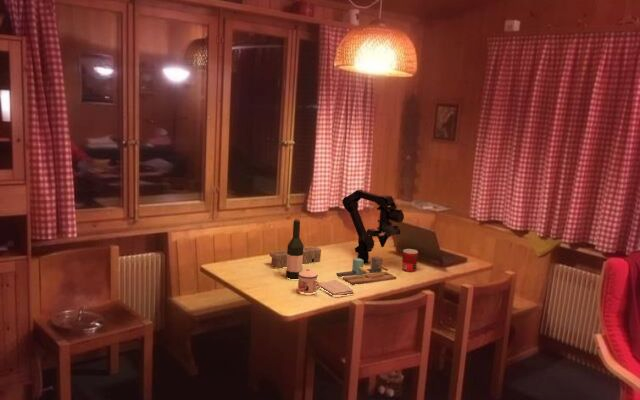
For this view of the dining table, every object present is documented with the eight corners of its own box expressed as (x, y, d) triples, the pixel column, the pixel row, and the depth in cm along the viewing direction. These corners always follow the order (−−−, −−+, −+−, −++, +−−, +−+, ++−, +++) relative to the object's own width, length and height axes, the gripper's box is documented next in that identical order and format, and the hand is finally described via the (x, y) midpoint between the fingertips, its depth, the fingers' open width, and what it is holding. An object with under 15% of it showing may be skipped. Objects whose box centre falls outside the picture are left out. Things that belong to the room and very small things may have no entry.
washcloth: (334, 299, 261) (335, 293, 261) (314, 287, 276) (314, 281, 276) (355, 295, 268) (356, 289, 267) (334, 283, 283) (334, 278, 282)
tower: (311, 260, 322) (268, 265, 304) (313, 245, 320) (269, 250, 302) (320, 263, 316) (276, 269, 298) (321, 249, 314) (277, 254, 296)
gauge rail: (335, 275, 294) (336, 261, 293) (378, 269, 307) (379, 256, 306) (347, 282, 284) (348, 268, 282) (391, 276, 297) (392, 263, 296)
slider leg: (351, 272, 299) (352, 258, 298) (358, 271, 301) (359, 258, 300) (364, 279, 289) (365, 265, 287) (371, 278, 291) (372, 264, 289)
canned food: (415, 273, 306) (417, 253, 303) (400, 271, 307) (402, 251, 305) (416, 269, 313) (418, 249, 311) (401, 267, 314) (403, 248, 312)
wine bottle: (305, 276, 289) (308, 219, 283) (297, 281, 281) (300, 222, 276) (290, 273, 292) (293, 216, 286) (282, 278, 285) (285, 219, 279)
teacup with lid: (293, 291, 267) (294, 267, 265) (306, 287, 274) (307, 264, 272) (312, 298, 259) (313, 274, 257) (325, 294, 266) (326, 270, 264)
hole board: (342, 279, 288) (342, 276, 288) (385, 273, 301) (386, 271, 301) (352, 285, 280) (352, 282, 280) (396, 279, 294) (396, 276, 293)
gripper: (379, 223, 294) (376, 252, 297) (407, 221, 303) (405, 249, 306) (367, 218, 303) (364, 246, 306) (395, 216, 312) (392, 244, 315)
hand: (382, 247), depth 308 cm, fingers closed
